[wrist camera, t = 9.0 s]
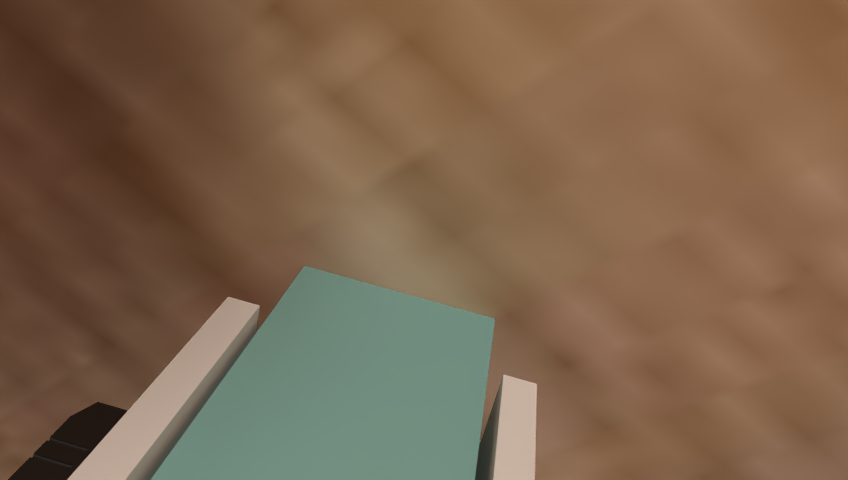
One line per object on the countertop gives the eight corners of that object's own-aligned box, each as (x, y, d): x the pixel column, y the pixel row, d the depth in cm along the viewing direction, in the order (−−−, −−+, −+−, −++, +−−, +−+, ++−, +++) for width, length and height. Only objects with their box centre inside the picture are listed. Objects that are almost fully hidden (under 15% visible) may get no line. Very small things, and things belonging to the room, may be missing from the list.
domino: (305, 264, 18) (63, 600, 9) (495, 316, 18) (444, 719, 9) (295, 325, 19) (66, 688, 10) (476, 376, 18) (412, 798, 9)
